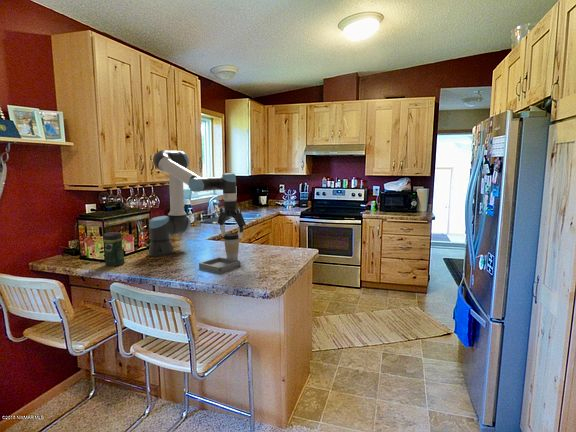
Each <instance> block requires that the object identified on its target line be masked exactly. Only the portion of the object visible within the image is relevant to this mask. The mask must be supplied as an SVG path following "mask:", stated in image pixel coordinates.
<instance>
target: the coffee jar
mask: <svg viewBox="0 0 576 432" xmlns="http://www.w3.org/2000/svg"><path fill="white" fill-rule="evenodd" d="M122 235H123V234H122V233H121V232H116V231H114V232H113V231H112V232H110V231H108V232H105V233H104V234H103V236H102V242H103V244H104V263H105V266H110V267H116V266H122V265H124V264H125V256H124V249H123V236H122Z"/></svg>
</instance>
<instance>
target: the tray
mask: <svg viewBox="0 0 576 432" xmlns="http://www.w3.org/2000/svg"><path fill="white" fill-rule="evenodd" d="M239 267H241V262H240V260H238V259H237V260H232V259H227V257H222V256H221V257H220V256H218V257H217V256H216V257H215V258H214V257H213V258H212V259H208V260H204V261H201V262H199V263H198V269H199V270H204V271H207V272H213V273H217V274H224V273H225V272H228V271H231V270H234V269H236V268H239Z"/></svg>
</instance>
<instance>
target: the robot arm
mask: <svg viewBox="0 0 576 432" xmlns="http://www.w3.org/2000/svg"><path fill="white" fill-rule="evenodd" d="M152 164H153V166H154V167H155V168H156V169H157V170H158V171H160V172H161V173H162V172H163V173H167V174H168V181H169V182H168V183H169V210H170V211H169V212H168V213H167V215H161V216H155V217H153V218H151V219H150V220H149V225H148V226H149V236H150V239H149V240H150V244H149V249H148V252H147V253H148V256H149V257H154V258H155V257H156V258H158V257H165V256H166V257H167V256H171V255H173V254H175V249H174V247H173V245H172V241H171V236H175V235H181V234H182V235H183V233H184V234H185V233H187V232H188V231H189V230H190V228H191V224H192V223H191V219H190V217H189V216H188V215H187V212H186V211H185V200H184V199H185V198H184V184H186V185H187V186H188V189H190V191H191V192H195V193H200V192H209V191H222V195H223V196H222V197H223V199H222V200H223V208H220V213H219V216H218V219H217V222H216V223H217V224H219V229H220V232H221V233H220V234H221V235H220V236H221V237H224V235H225V234H226V224H225V223H226V221H227V219H228V218H230V217H231V218H233V219H234V221H235V222H236V224H237V225H238V226H237V234H238V238H239V239H242V238H243V233H244V227H245V226H247V225H246V224H247V223H246V222H245V219H244V216H243V213H242V209H241V208H238V209H237V207H238V200H237V199H238V197H237V179H236V177H237V176H236V174H235V173H232V172H231V173H222V176H211V177H201V176H200V175H197V174H196V173H194V172H193V171H191V170H189V169H188V167H189V165H190V158H189V157H188V155H187V154H186V152H184V151H182V150H167V149H166V150H165V149H163V150H159V151H156V152H155V154H154V155H153V157H152Z"/></svg>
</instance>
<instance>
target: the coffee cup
mask: <svg viewBox="0 0 576 432" xmlns="http://www.w3.org/2000/svg"><path fill="white" fill-rule="evenodd" d="M222 237H223V240H224V247H225V248H224V249H225V254H226V258H227V259H232V260H237V261H238V257H239V247H240V244H239V243H240V240H239V239H240V238H238V233H227V234H226V233H225V235H224V236H222Z"/></svg>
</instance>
